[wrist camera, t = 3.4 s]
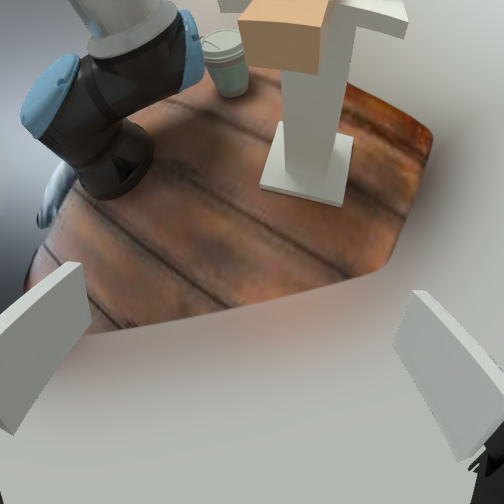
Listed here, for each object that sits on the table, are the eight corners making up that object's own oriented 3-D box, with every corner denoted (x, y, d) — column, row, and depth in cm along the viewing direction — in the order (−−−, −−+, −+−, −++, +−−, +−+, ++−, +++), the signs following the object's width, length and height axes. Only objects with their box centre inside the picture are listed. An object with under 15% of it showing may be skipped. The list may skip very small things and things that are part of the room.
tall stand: (340, 207, 39) (408, 22, 10) (260, 188, 41) (216, -4, 13) (351, 142, 42) (392, -27, 13) (279, 126, 44) (263, -45, 15)
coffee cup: (211, 78, 49) (196, 33, 37) (253, 71, 48) (245, 24, 36) (211, 106, 47) (193, 58, 35) (258, 99, 46) (250, 48, 34)
